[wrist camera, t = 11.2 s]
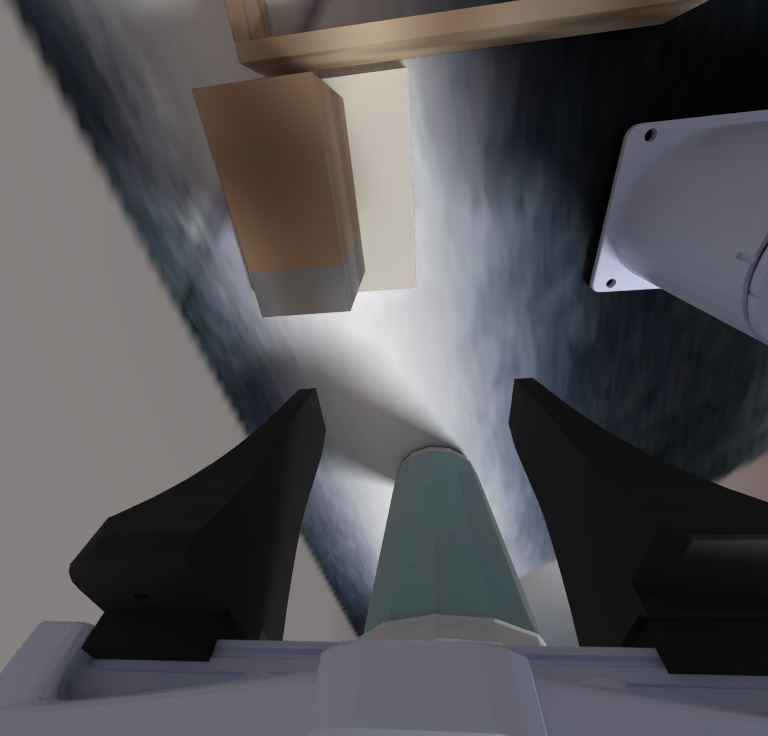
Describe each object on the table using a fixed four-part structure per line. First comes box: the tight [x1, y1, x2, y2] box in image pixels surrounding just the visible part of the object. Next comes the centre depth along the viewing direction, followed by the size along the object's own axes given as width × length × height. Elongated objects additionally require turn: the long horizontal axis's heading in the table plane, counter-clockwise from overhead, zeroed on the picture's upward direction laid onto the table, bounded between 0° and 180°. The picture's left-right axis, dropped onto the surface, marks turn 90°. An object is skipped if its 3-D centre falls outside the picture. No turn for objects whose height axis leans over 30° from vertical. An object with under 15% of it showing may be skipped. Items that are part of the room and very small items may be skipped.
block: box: [192, 71, 365, 317], centre depth 15 cm, size 4×8×6 cm, turn 6°
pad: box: [321, 67, 417, 292], centre depth 18 cm, size 10×10×1 cm
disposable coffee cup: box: [357, 447, 547, 646], centre depth 23 cm, size 11×11×15 cm
